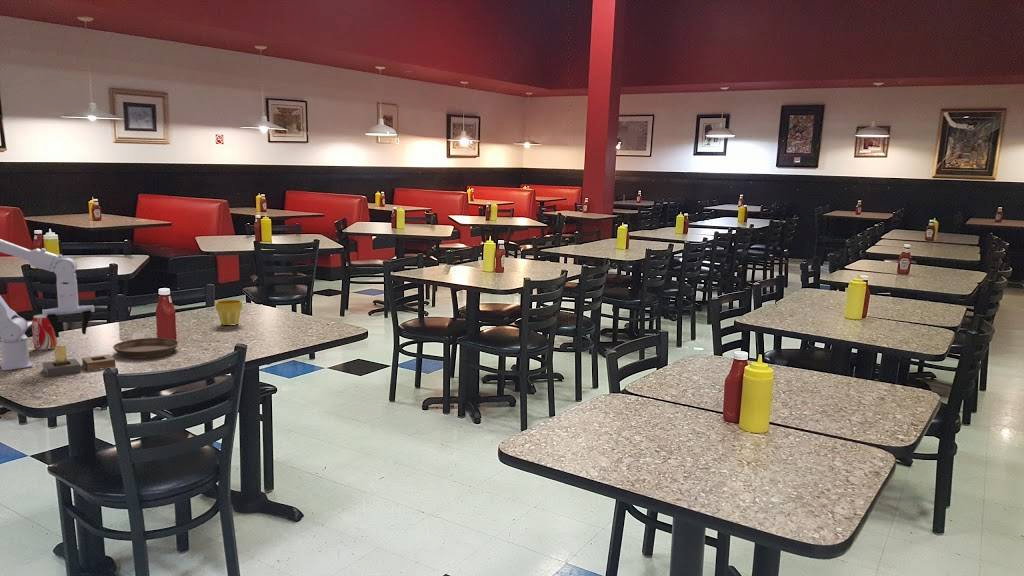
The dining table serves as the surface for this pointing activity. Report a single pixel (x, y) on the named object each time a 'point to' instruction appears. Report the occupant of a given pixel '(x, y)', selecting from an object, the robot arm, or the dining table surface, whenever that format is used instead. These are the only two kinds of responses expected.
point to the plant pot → (229, 311)
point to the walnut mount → (98, 362)
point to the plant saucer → (145, 347)
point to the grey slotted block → (61, 367)
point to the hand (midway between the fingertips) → (70, 335)
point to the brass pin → (60, 355)
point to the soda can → (43, 333)
